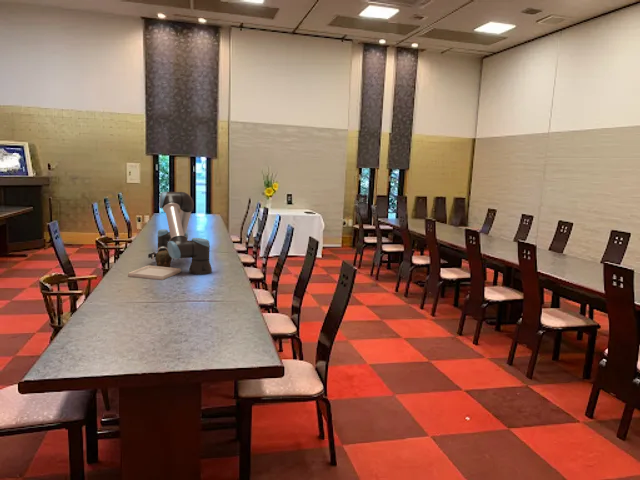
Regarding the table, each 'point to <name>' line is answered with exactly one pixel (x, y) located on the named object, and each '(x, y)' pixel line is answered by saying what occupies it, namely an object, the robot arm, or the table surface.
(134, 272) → the tray
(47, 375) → the table surface
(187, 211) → the robot arm
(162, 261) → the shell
